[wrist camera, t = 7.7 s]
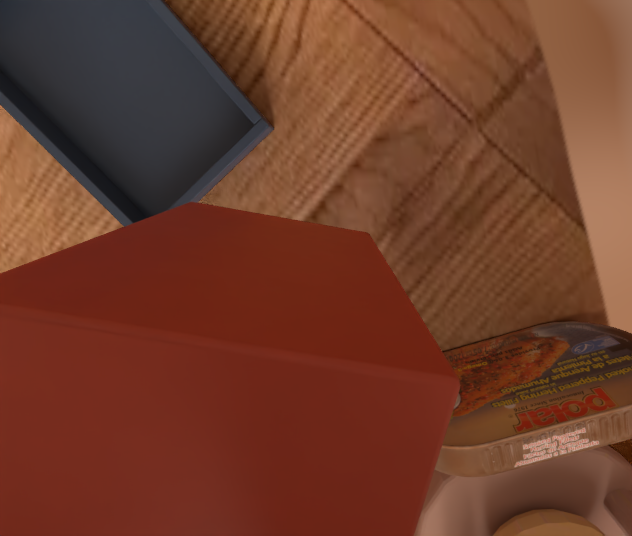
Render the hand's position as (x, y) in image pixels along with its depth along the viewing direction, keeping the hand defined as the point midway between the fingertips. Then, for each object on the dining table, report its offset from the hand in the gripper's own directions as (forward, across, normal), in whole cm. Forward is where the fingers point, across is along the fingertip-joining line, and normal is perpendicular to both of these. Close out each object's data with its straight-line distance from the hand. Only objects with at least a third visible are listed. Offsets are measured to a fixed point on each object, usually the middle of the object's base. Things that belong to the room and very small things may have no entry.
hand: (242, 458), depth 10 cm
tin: (+17, -15, +4) cm, 23 cm away
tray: (+17, +12, -9) cm, 23 cm away
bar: (0, 0, 0) cm, 0 cm away
